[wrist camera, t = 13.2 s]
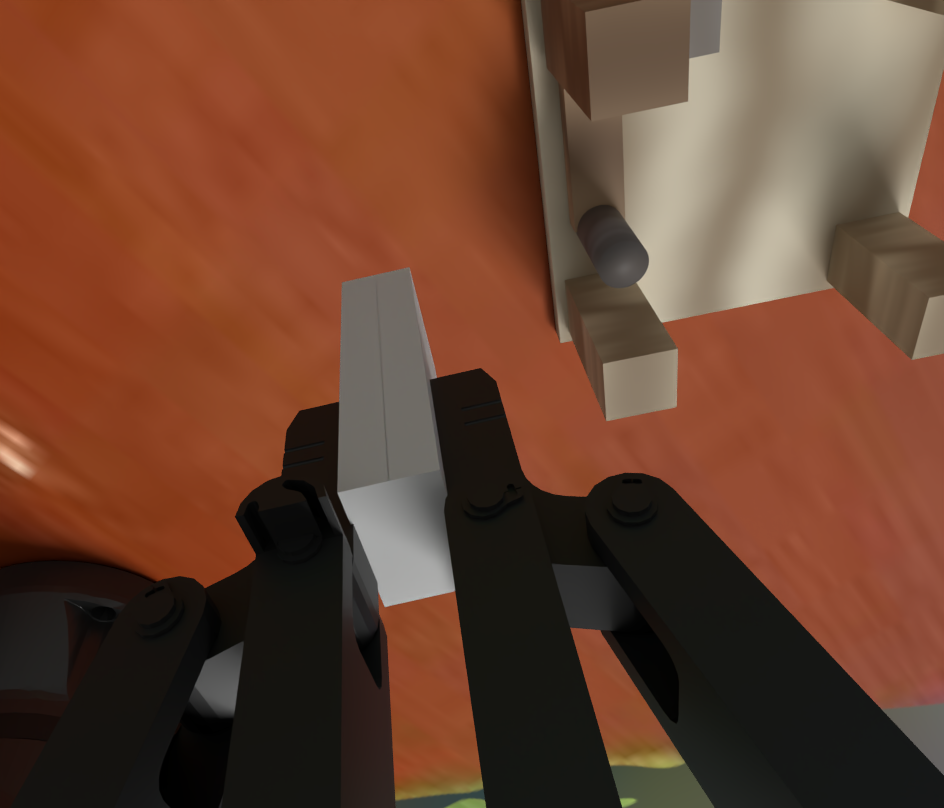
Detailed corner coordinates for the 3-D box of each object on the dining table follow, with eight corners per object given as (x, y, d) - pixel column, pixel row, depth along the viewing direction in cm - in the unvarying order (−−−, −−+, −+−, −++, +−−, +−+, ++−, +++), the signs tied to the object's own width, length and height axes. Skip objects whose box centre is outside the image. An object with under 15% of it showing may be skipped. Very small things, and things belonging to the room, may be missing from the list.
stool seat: (556, 332, 36) (595, 432, 30) (517, -40, 26) (563, -7, 20) (882, 266, 36) (991, 353, 30) (973, -136, 26) (1169, -134, 19)
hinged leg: (538, -22, 25) (584, 12, 20) (620, -39, 25) (691, -11, 19) (563, 245, 32) (603, 326, 26) (628, 232, 31) (682, 310, 26)
